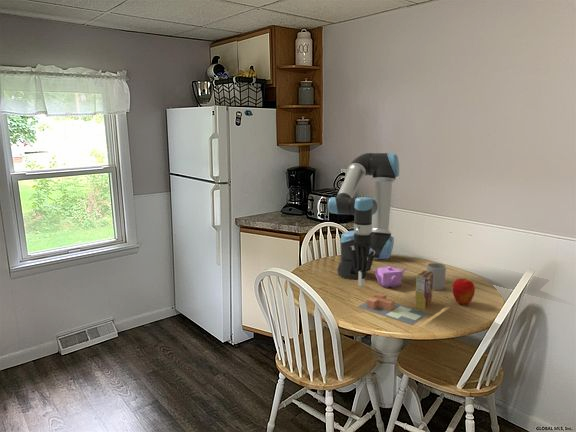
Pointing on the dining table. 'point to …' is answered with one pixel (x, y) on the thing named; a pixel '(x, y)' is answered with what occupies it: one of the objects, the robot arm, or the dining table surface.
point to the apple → (463, 291)
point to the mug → (437, 275)
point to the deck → (399, 313)
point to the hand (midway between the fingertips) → (361, 284)
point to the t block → (380, 302)
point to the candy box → (424, 289)
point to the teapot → (389, 276)
